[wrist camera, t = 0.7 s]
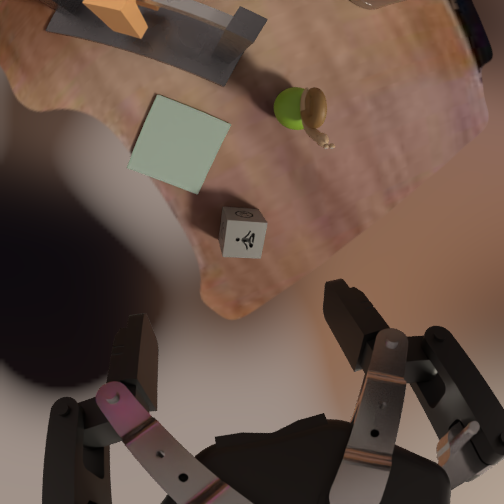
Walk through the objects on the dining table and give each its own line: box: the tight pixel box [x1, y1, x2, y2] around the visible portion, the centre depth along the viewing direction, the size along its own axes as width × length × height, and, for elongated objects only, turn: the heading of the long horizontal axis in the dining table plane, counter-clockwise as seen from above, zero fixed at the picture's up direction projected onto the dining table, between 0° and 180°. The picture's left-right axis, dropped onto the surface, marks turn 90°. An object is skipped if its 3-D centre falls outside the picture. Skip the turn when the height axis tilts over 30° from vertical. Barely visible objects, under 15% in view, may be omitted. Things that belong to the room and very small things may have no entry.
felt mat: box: [127, 94, 231, 195], centre depth 35 cm, size 10×10×1 cm
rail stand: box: [39, 0, 268, 87], centre depth 20 cm, size 8×26×15 cm, turn 63°
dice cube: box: [219, 206, 267, 258], centre depth 40 cm, size 5×5×5 cm
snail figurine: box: [274, 87, 335, 149], centre depth 30 cm, size 5×6×12 cm
